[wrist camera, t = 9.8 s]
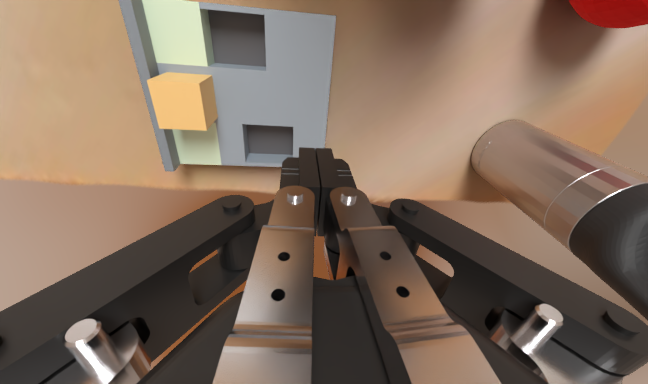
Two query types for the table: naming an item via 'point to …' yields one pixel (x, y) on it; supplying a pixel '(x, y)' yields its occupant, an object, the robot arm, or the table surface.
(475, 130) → the table surface
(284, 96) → the board
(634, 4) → the tomato
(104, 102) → the table surface
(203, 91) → the block
